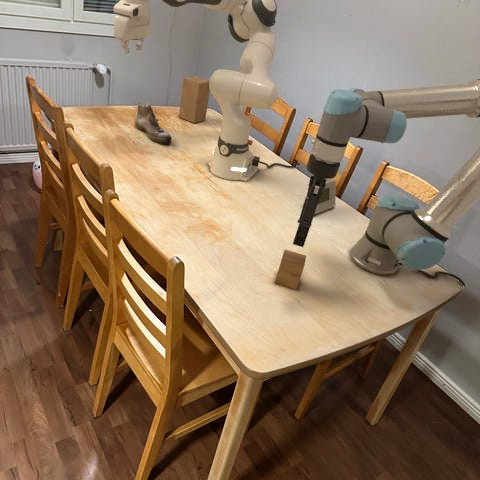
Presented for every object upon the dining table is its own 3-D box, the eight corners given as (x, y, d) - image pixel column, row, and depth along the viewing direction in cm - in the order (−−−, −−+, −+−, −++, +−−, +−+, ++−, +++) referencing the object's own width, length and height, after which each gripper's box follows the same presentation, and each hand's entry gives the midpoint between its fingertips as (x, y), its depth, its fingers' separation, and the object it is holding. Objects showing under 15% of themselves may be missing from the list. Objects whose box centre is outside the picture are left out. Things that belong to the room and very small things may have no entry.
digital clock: (309, 217, 160) (317, 191, 154) (294, 205, 166) (301, 179, 160) (340, 211, 169) (349, 186, 163) (324, 200, 175) (332, 175, 169)
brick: (277, 273, 127) (284, 249, 123) (298, 279, 127) (306, 255, 122) (274, 283, 123) (282, 258, 118) (296, 289, 122) (304, 265, 118)
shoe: (175, 145, 192) (178, 118, 185) (151, 146, 186) (153, 118, 180) (154, 124, 209) (157, 98, 202) (132, 124, 203) (133, 97, 197)
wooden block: (194, 123, 220) (199, 83, 210) (178, 117, 224) (183, 77, 213) (205, 120, 228) (211, 81, 218) (190, 114, 232) (195, 75, 221)
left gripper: (140, 4, 156) (138, 46, 163) (110, 6, 139) (109, 52, 146) (157, 9, 155) (153, 50, 163) (129, 11, 138) (126, 57, 145)
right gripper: (314, 138, 116) (293, 208, 127) (305, 171, 94) (280, 252, 106) (342, 146, 115) (318, 215, 126) (339, 181, 94) (310, 261, 105)
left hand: (132, 51), depth 154 cm, fingers open, 8 cm apart
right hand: (301, 232), depth 116 cm, fingers open, 13 cm apart
